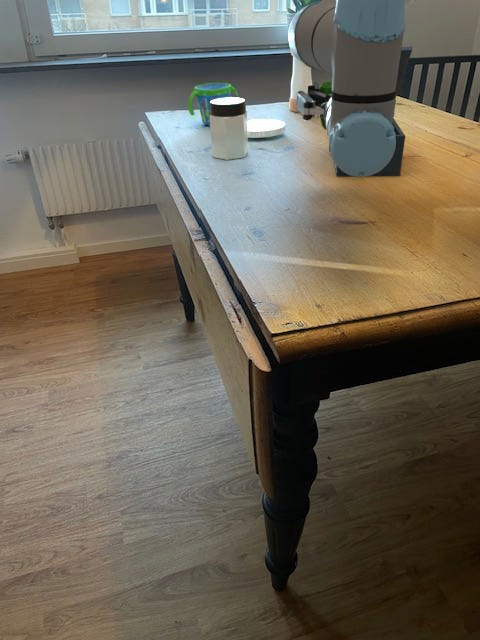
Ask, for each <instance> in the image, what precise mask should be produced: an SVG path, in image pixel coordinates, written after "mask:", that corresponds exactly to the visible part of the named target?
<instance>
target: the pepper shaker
mask: <svg viewBox="0 0 480 640" xmlns="http://www.w3.org/2000/svg"><path fill="white" fill-rule="evenodd" d="M290 54H291V56H292V76H291V81H290V97H289V107H288V108H289V109H288V110H289V111H290V112H294V113H295V112H296V113H301V112H300V111H299V110H298V109H297V92H298V91H303V92H305V93H306V94H307V91H308V86H310V85H313V80H312V78H313V77H312V68H310V67H308V66H306V65H305V64H304V63H302V62H301V61H299V60H298V59H297V58H296V57H295V56H294V55H293V53H292V52H291V51H290Z"/></svg>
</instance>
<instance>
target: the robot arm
mask: <svg viewBox="0 0 480 640" xmlns="http://www.w3.org/2000/svg"><path fill="white" fill-rule="evenodd" d="M416 1H417V0H321V1H320V2H312V3H311V4H308V5H306V6H304V7H302V8H300V10H298V11H297V12H296V13H295V14H294V16H293V18H292V20H291V22H290V24H289V28H288V31H287V39H288V46H289V48H290V49H289V50H290V53H291V52H292V53H293V55H294V56H295V57H296V58H297V59H298V60H299V61H301V62H302V63H304V64H305V65H306V66H308V67H310V68H311V69H313V70H315V69H316V70H317V69H318V70H320V71H323V72H327V73H329V74H332V76H331V82H332V92H331V94H327V95H326V94H323V93H320V92H319V89H320V86H319V82H318V81H316V82H315V81H314V82H313V84H312V85H310V86H308V91H307V94H306V93H305V92H303V91H298V92H297V109H298V110H299V111H300V112H299V113H301V114H302V115H303V117H302V119H303V121H310V120H312V119H315V118H316V116H319V117H320V116H321V117H322V118H323V119H325V124H326V129H327V130H326V134H327V138H328V152H329V153H330V156H331V157H332V160H333V162H334V161H335V163H336V165H337V166H338V167H339V168H340V169H341V170H342V171H343V172H345V173H347V174H349V175H351V176H350V177H355V178H356V177H358V178H364V177H371V176H370V175H373V174H375V173H377V172H379V171H380V170H382V169H383V168H384V167H385V166H386V165H387V164H388V163H389V161H390V160H391V158H392V156H393V154H394V151H395V147H396V138H395V137H396V133H395V132H394V127H393V125H392V122H393V118H395V113H396V112H395V110H396V104H397V103H396V102H397V98H396V99H395V92H396V83H397V76H398V69H399V62H400V55H401V48H402V47H403V40H404V33H405V32H406V21H405V18H406V9H407V8H409V6H411V5H412V4H413V3H415V2H416Z"/></svg>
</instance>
